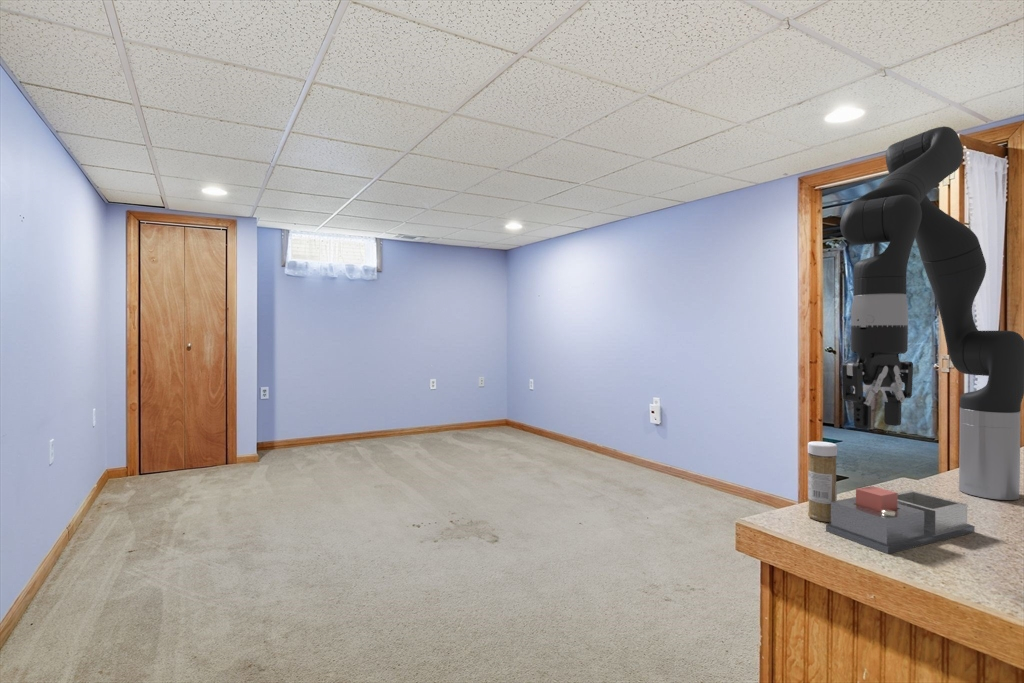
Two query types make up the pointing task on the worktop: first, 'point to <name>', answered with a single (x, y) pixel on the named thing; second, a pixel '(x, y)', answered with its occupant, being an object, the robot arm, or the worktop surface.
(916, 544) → the grey push button box
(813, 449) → the sprinkles bottle
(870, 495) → the button
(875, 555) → the worktop surface
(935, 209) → the robot arm
